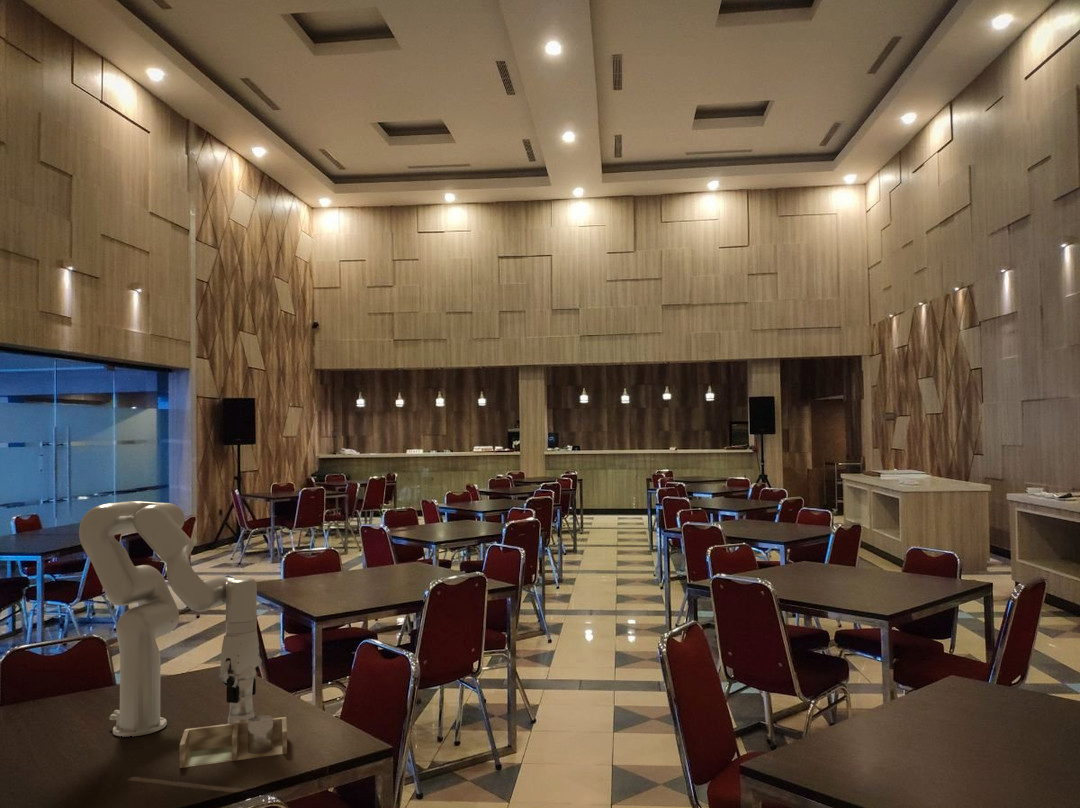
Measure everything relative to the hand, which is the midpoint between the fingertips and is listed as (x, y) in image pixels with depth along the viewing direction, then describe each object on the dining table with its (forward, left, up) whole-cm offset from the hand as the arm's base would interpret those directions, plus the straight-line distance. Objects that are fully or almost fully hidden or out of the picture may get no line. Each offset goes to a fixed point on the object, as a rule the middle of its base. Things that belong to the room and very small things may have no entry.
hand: (241, 697), depth 203 cm
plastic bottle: (0, 0, -9) cm, 9 cm away
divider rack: (+9, -14, -9) cm, 19 cm away
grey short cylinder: (+14, -11, -8) cm, 19 cm away
